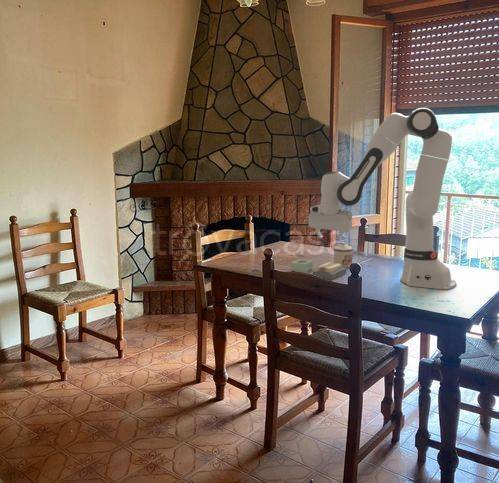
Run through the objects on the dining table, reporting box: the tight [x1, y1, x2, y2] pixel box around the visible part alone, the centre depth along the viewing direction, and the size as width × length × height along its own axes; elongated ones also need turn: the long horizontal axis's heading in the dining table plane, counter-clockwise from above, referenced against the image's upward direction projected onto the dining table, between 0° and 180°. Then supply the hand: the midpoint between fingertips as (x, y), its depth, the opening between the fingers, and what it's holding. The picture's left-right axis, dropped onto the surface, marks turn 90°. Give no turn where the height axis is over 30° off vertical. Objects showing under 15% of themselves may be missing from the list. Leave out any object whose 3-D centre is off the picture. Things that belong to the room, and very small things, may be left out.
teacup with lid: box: [333, 241, 355, 269], centre depth 250 cm, size 12×9×12 cm
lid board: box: [317, 261, 341, 273], centre depth 234 cm, size 6×10×2 cm, turn 144°
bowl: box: [291, 258, 314, 274], centre depth 242 cm, size 7×7×4 cm
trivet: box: [312, 268, 347, 281], centre depth 235 cm, size 10×13×2 cm
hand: (329, 239), depth 232 cm, fingers open, 8 cm apart
